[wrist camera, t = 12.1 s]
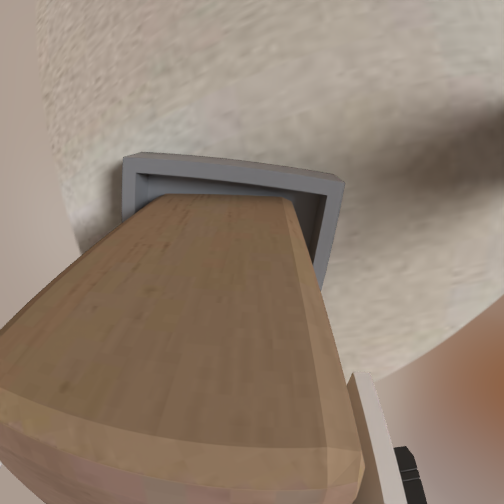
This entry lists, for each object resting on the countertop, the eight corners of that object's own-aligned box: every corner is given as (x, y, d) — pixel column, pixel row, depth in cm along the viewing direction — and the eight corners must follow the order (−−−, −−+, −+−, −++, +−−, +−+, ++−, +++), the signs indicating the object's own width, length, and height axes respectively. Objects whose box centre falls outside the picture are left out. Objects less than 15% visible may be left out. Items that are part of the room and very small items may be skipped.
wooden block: (167, 306, 26) (71, 528, 8) (157, 190, 22) (-69, 383, 4) (284, 314, 26) (297, 567, 7) (295, 194, 22) (393, 487, 3)
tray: (142, 151, 22) (123, 157, 19) (333, 174, 22) (345, 182, 19) (142, 312, 28) (129, 334, 24) (298, 334, 28) (301, 360, 24)
